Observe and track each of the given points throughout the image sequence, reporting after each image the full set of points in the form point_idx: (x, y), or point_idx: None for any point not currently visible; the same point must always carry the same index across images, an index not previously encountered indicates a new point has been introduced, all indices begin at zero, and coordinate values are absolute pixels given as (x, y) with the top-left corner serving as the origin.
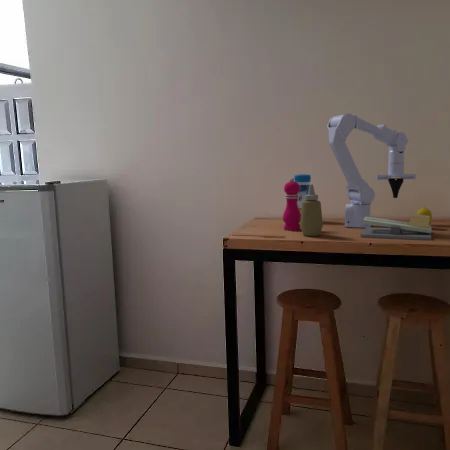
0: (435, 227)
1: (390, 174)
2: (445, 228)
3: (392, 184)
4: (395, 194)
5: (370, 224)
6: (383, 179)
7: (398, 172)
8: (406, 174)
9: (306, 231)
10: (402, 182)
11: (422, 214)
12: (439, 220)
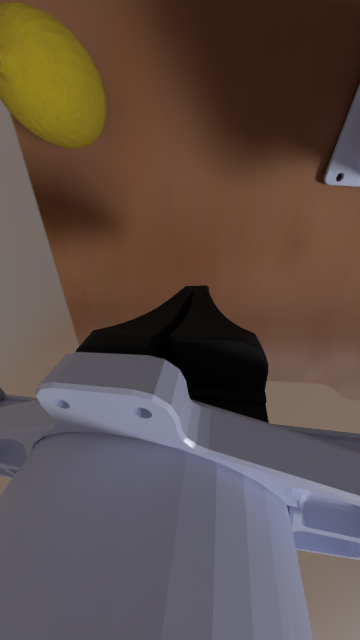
0: (56, 161)
1: (265, 501)
2: (17, 136)
3: (218, 326)
4: (194, 291)
5: (345, 142)
6: (352, 433)
7: (40, 509)
8: (15, 464)
9: None
10: (97, 330)
11: (27, 5)
12: (86, 325)
